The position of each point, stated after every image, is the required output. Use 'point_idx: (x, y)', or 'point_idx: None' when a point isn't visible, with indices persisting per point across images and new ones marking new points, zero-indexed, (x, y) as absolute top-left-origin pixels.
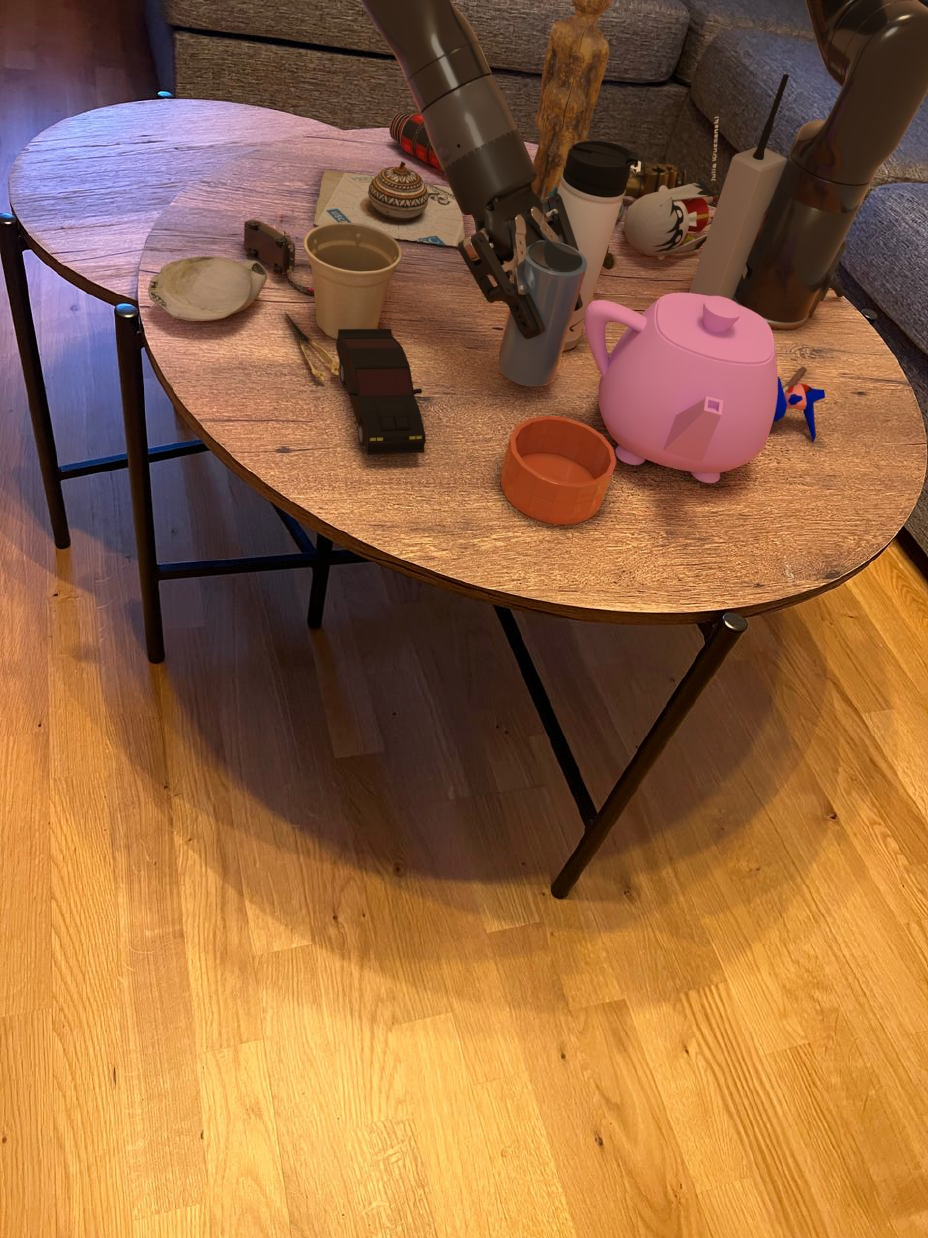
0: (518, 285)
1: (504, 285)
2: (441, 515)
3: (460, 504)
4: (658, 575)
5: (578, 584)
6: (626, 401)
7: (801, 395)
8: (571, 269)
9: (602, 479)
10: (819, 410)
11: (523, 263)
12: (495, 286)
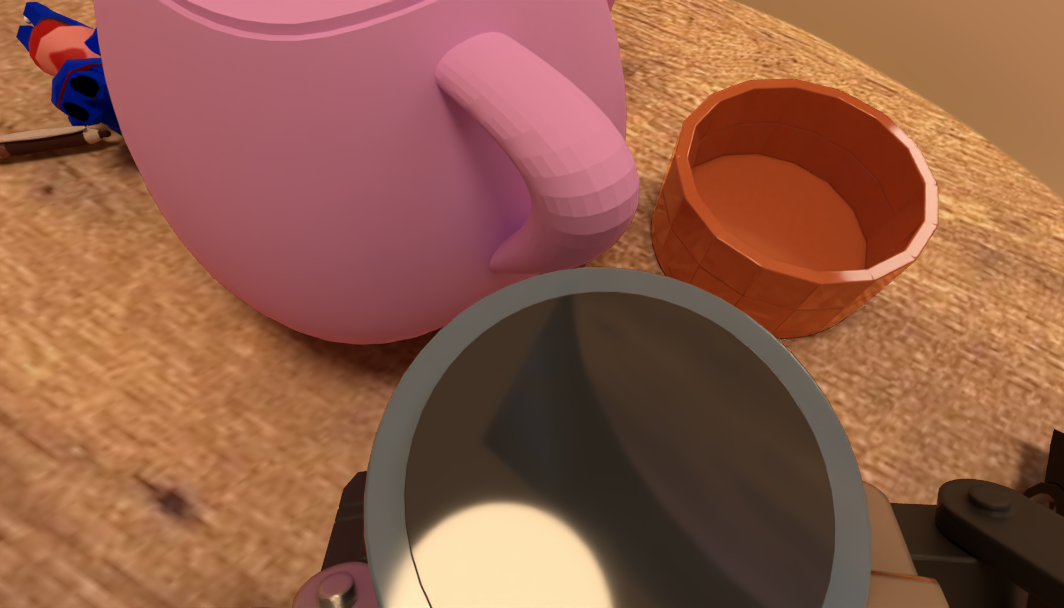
0: (889, 506)
1: (1033, 513)
2: (1031, 304)
3: (976, 305)
4: (716, 37)
5: (856, 85)
6: (625, 101)
7: (82, 31)
8: (635, 300)
9: (778, 80)
10: (10, 95)
11: (879, 571)
12: (1023, 594)
